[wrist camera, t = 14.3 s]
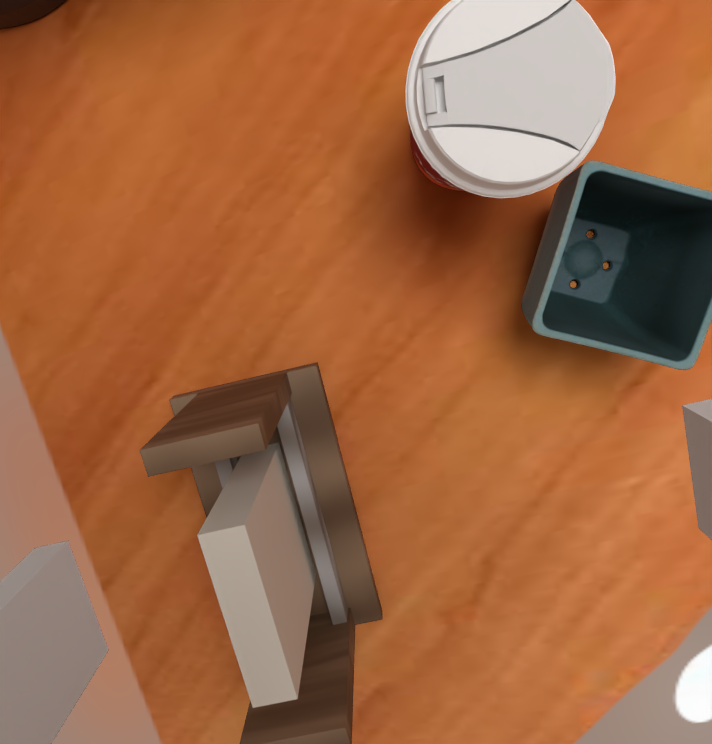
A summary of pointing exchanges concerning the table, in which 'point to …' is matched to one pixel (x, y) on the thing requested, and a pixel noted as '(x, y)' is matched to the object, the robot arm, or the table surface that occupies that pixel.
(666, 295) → the flower pot
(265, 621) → the door panel
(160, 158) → the table surface
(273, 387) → the track
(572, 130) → the coffee cup
